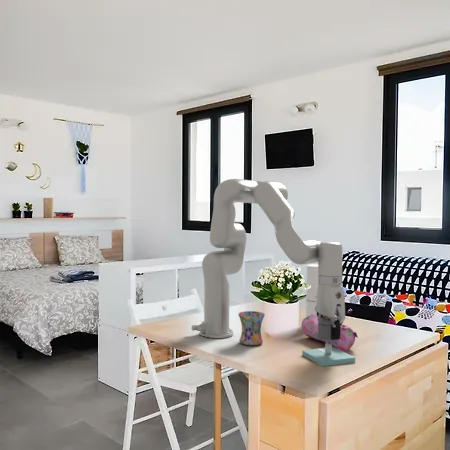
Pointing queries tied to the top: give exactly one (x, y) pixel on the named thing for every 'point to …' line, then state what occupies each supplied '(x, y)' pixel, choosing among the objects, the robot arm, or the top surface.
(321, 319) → the knob
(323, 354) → the teal peg base
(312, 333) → the pencil case
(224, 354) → the top surface
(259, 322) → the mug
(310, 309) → the cylindrical container
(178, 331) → the top surface
